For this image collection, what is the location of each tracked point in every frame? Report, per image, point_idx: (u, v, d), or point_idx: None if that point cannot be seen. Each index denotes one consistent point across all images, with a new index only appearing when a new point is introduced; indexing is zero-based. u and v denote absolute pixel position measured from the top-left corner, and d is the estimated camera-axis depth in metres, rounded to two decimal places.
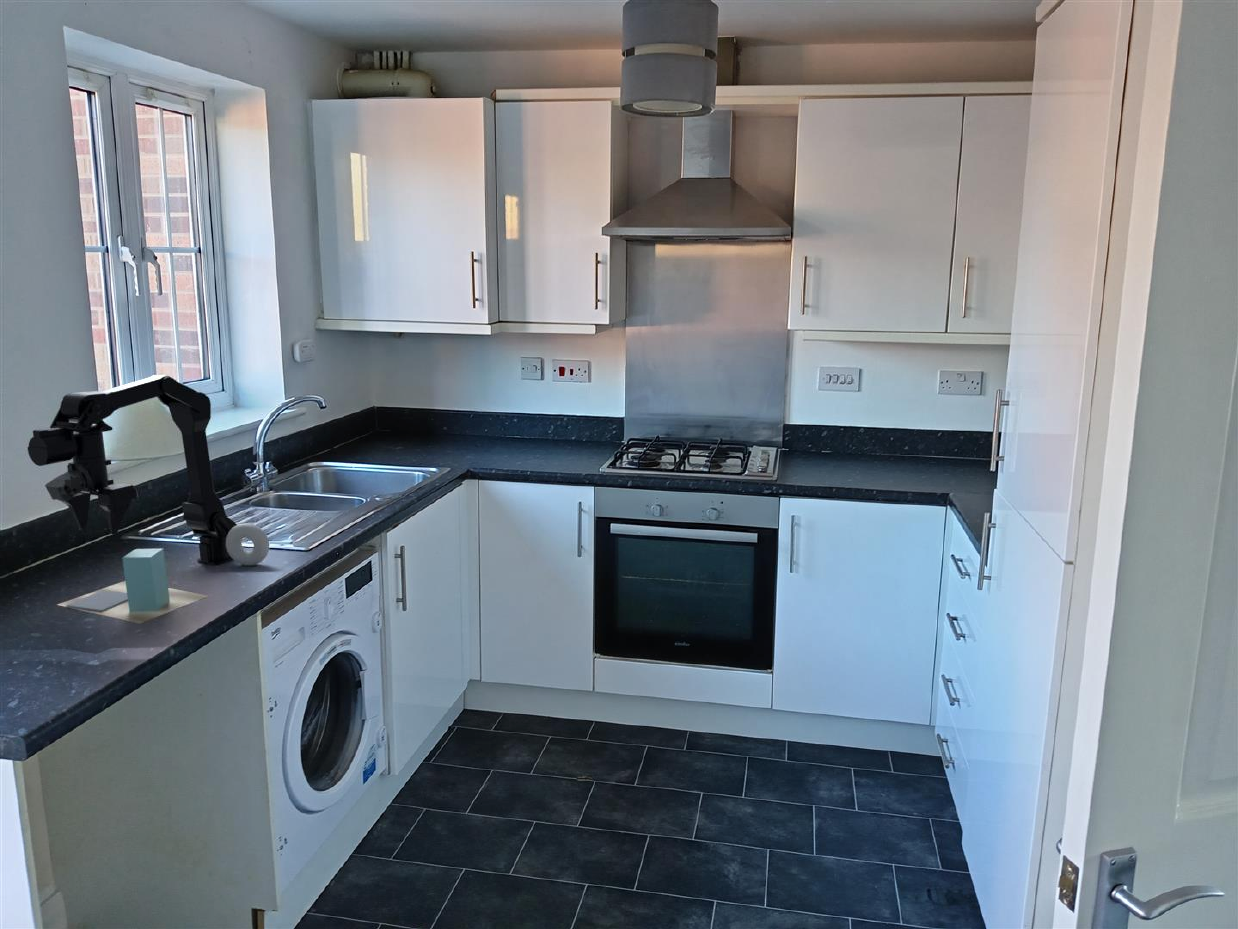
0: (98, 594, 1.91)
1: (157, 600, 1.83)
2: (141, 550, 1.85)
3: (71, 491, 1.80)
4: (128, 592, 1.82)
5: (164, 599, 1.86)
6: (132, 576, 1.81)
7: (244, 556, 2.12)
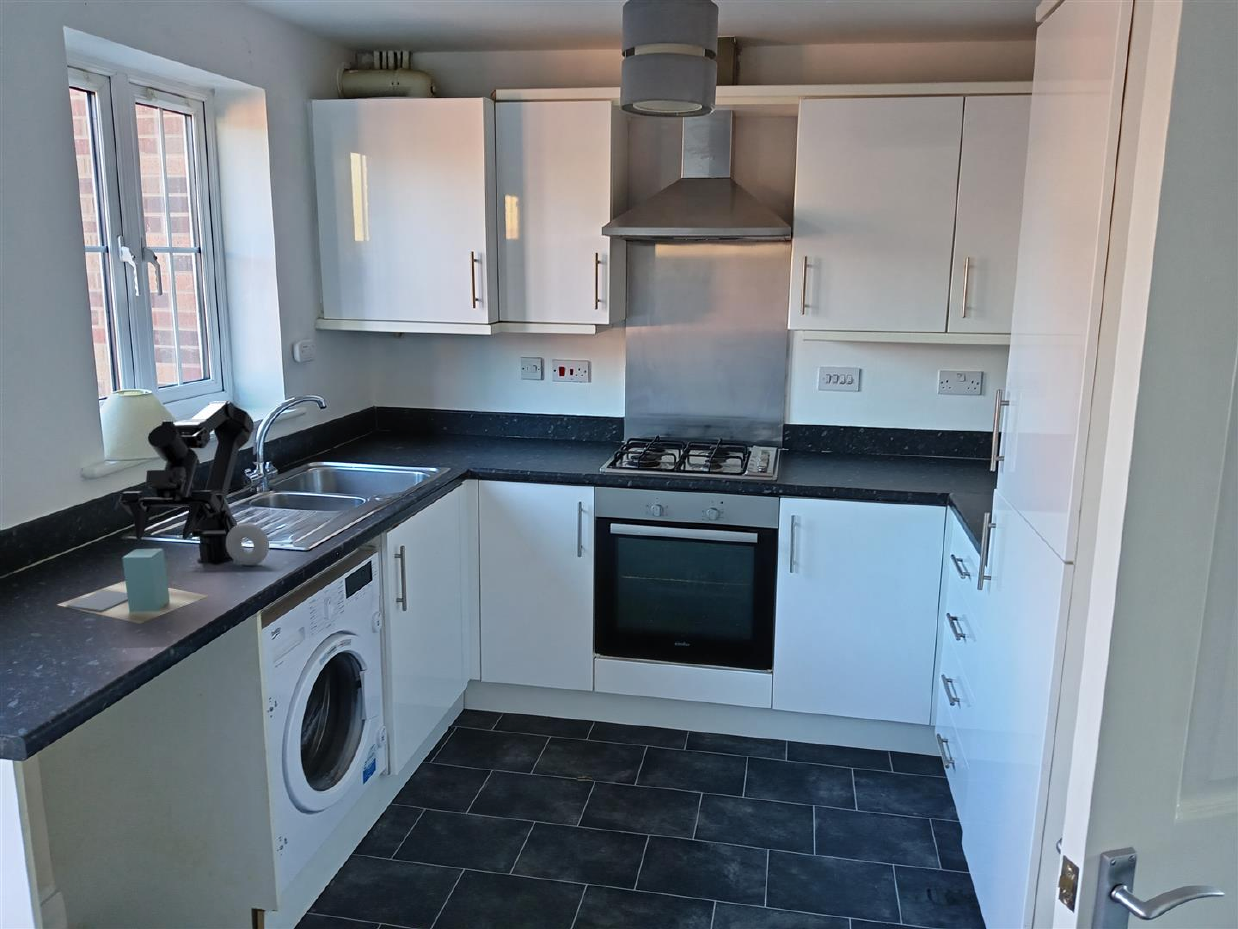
0: (98, 594, 1.91)
1: (157, 600, 1.83)
2: (141, 550, 1.85)
3: (178, 476, 1.90)
4: (128, 592, 1.82)
5: (164, 599, 1.86)
6: (132, 576, 1.81)
7: (244, 556, 2.12)
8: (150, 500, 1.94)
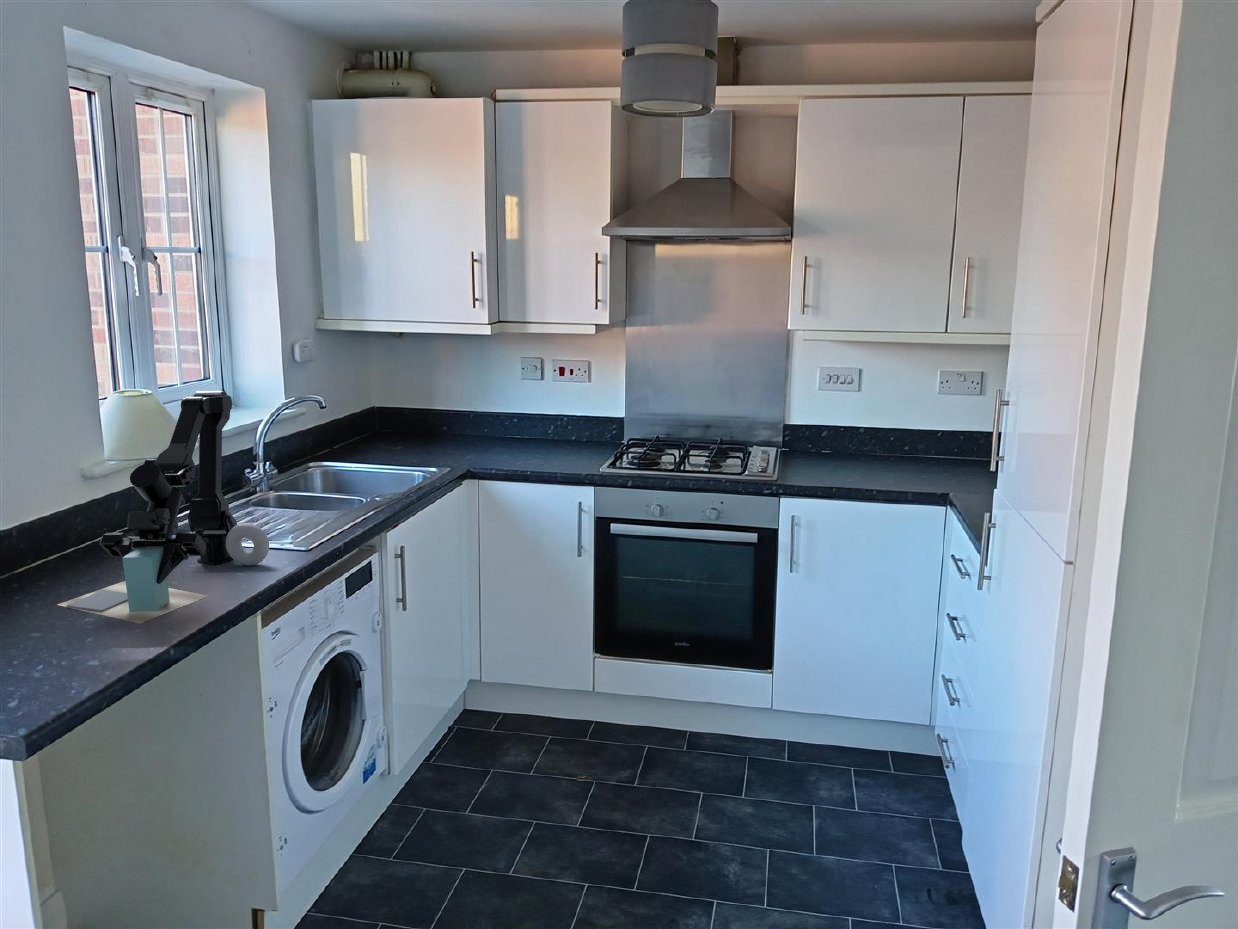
0: (98, 594, 1.91)
1: (157, 600, 1.83)
2: (141, 550, 1.85)
3: (161, 518, 1.82)
4: (128, 592, 1.82)
5: (164, 599, 1.86)
6: (132, 576, 1.81)
7: (244, 556, 2.12)
8: (132, 542, 1.87)
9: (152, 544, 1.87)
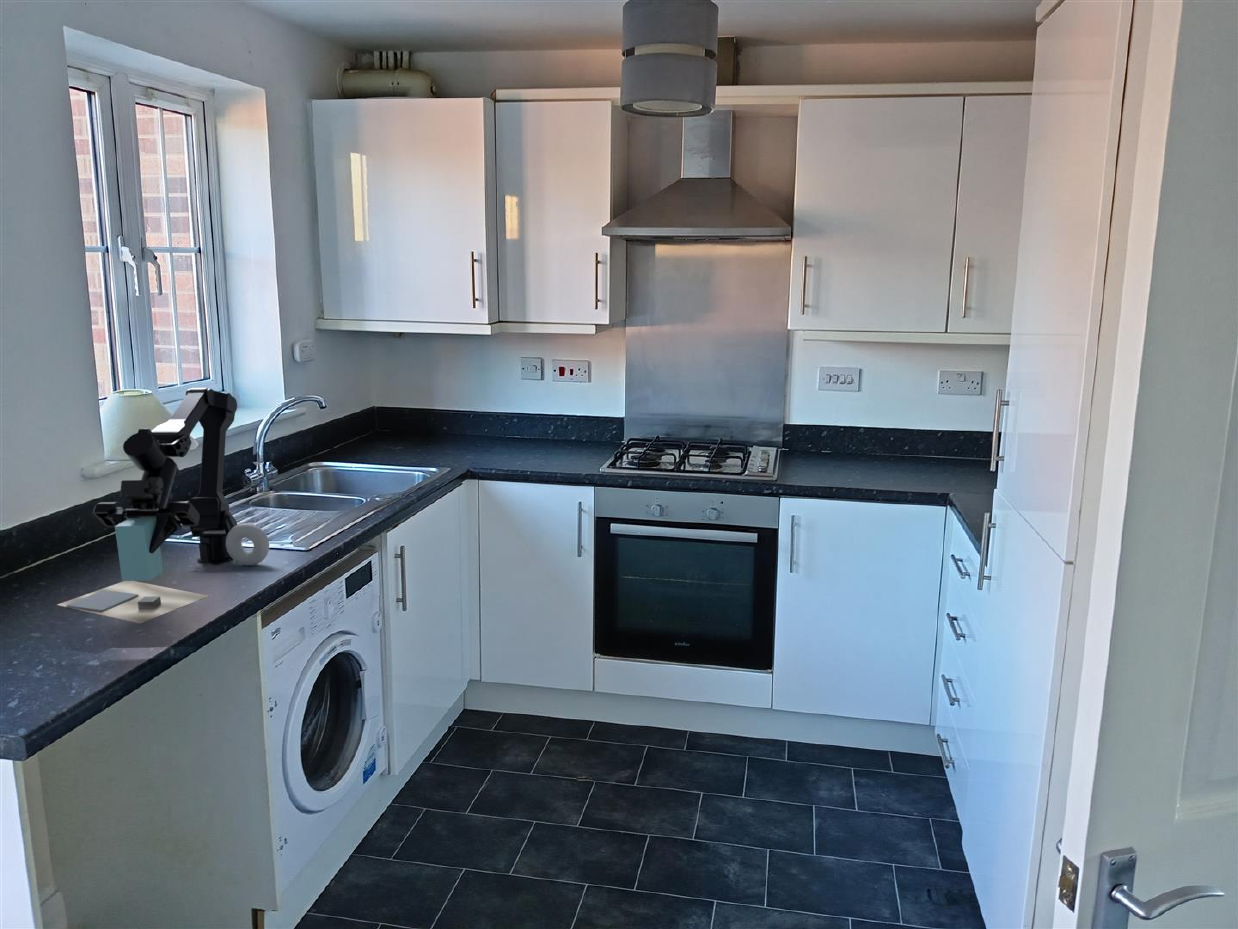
0: (98, 594, 1.91)
1: (149, 569, 1.82)
2: (134, 519, 1.83)
3: (154, 486, 1.81)
4: (121, 561, 1.81)
5: (157, 569, 1.85)
6: (125, 545, 1.80)
7: (244, 556, 2.12)
8: (126, 511, 1.85)
9: (145, 514, 1.86)
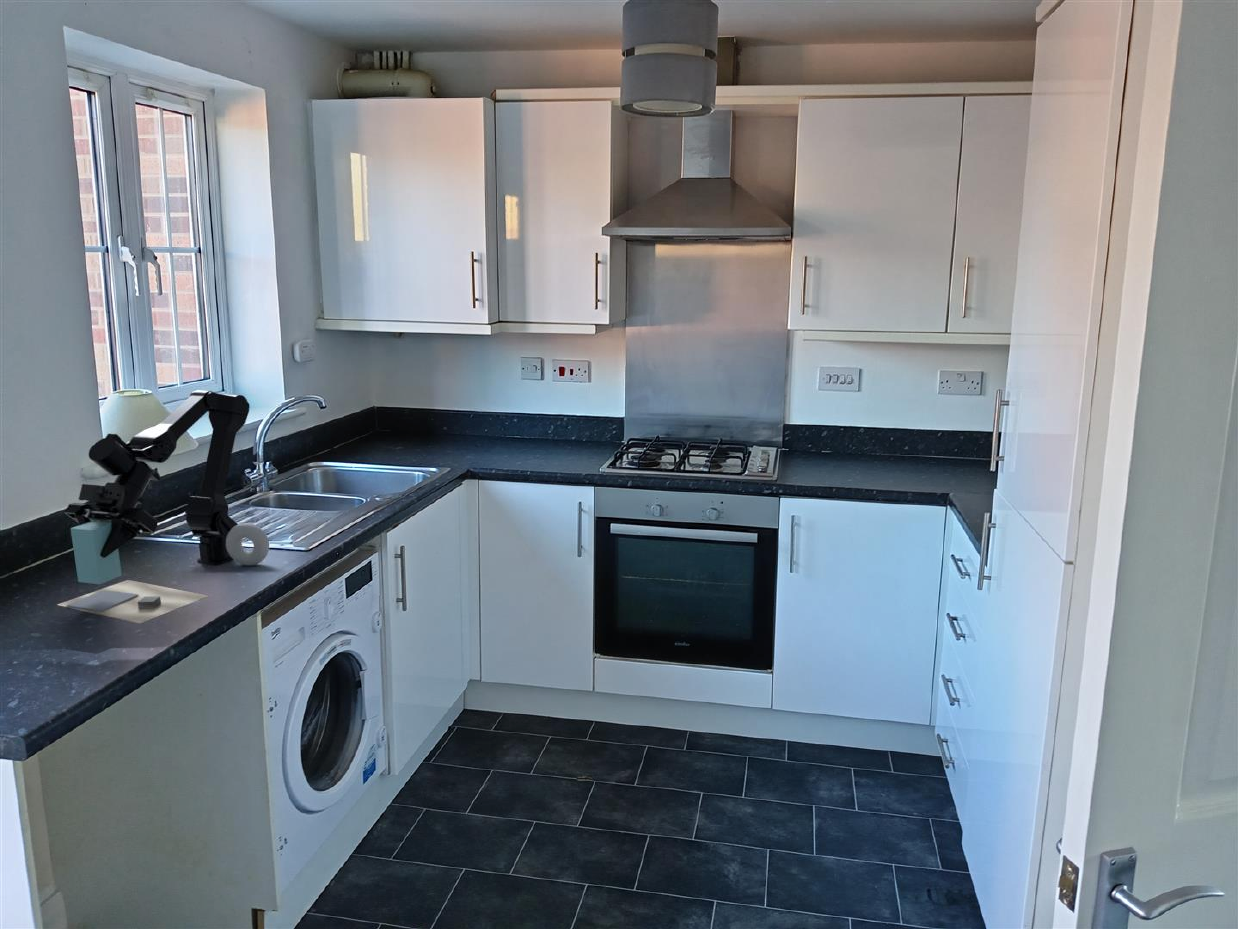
0: (98, 594, 1.91)
1: (100, 573, 1.84)
2: (95, 522, 1.87)
3: (107, 492, 1.83)
4: (76, 562, 1.85)
5: (112, 573, 1.87)
6: (79, 547, 1.84)
7: (244, 556, 2.12)
8: (93, 514, 1.90)
9: (109, 517, 1.89)
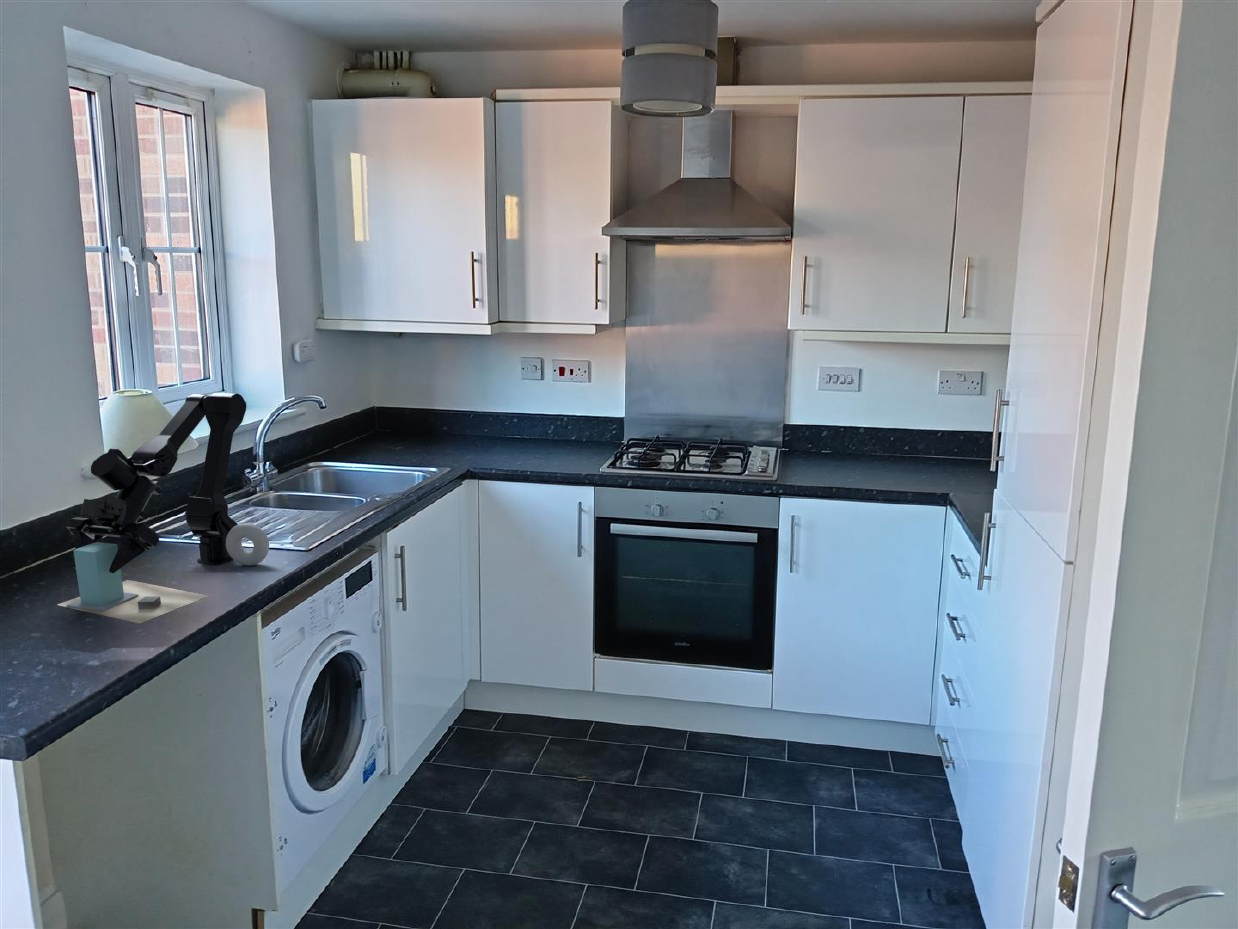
0: None
1: (103, 595, 1.85)
2: (98, 544, 1.88)
3: (109, 507, 1.84)
4: (79, 584, 1.86)
5: (115, 594, 1.88)
6: (82, 569, 1.84)
7: (244, 556, 2.12)
8: (95, 528, 1.90)
9: (111, 532, 1.89)
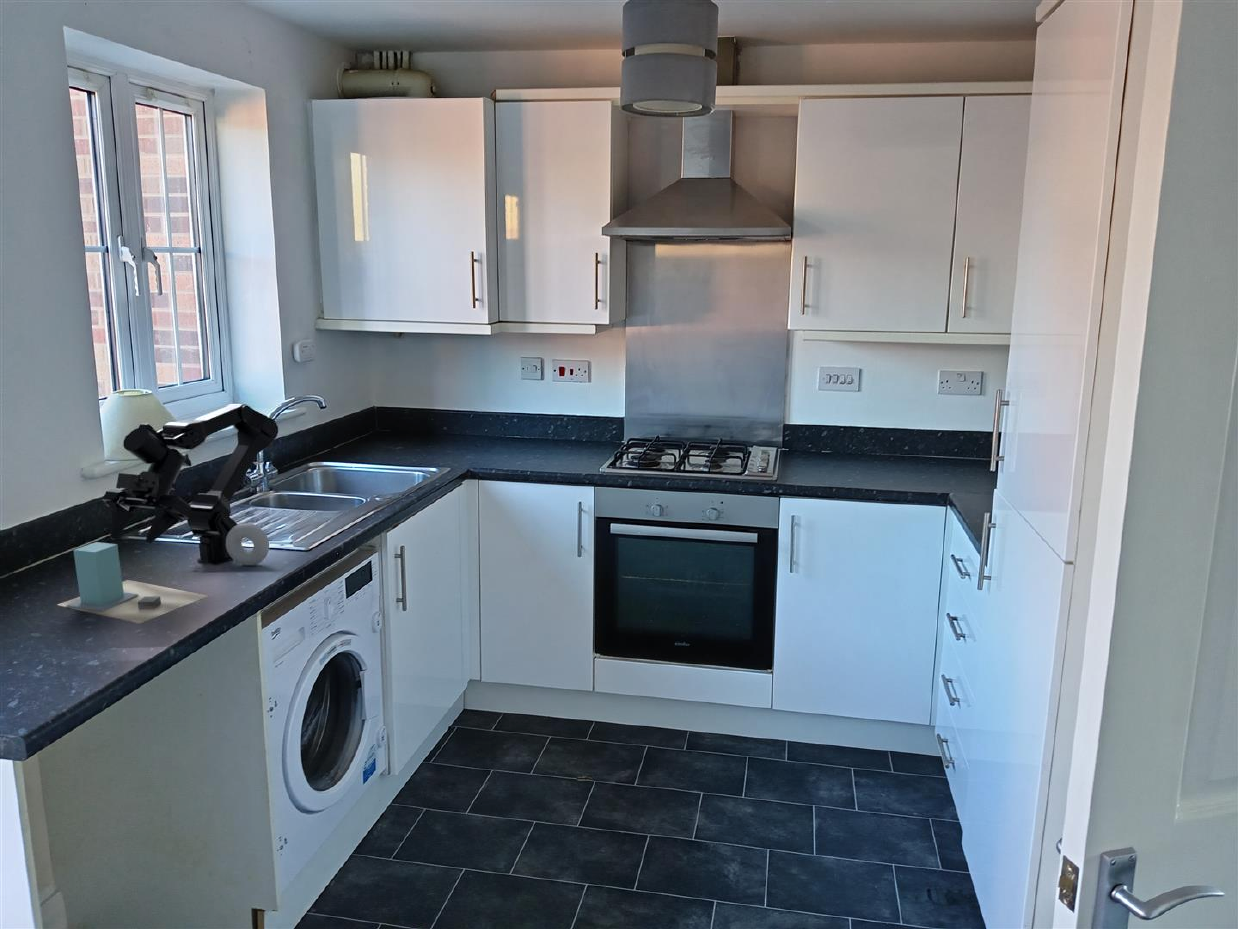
0: None
1: (103, 595, 1.85)
2: (98, 544, 1.88)
3: (143, 481, 1.92)
4: (79, 584, 1.86)
5: (115, 594, 1.88)
6: (82, 569, 1.84)
7: (244, 556, 2.12)
8: (130, 500, 1.98)
9: (145, 504, 1.98)
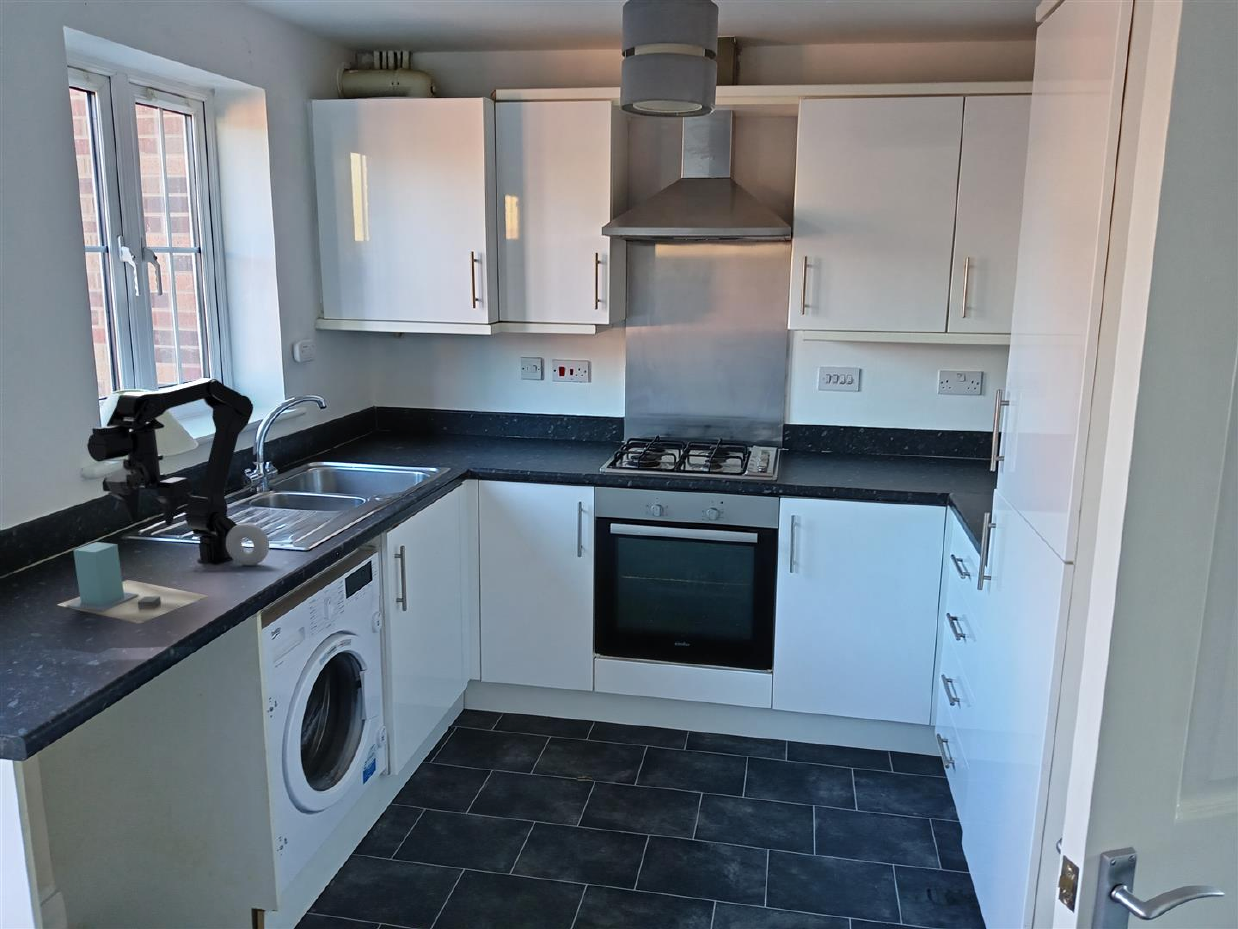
0: None
1: (103, 595, 1.85)
2: (98, 544, 1.88)
3: (133, 485, 1.91)
4: (79, 584, 1.86)
5: (115, 594, 1.88)
6: (82, 569, 1.84)
7: (244, 556, 2.12)
8: None
9: (145, 486, 1.99)
